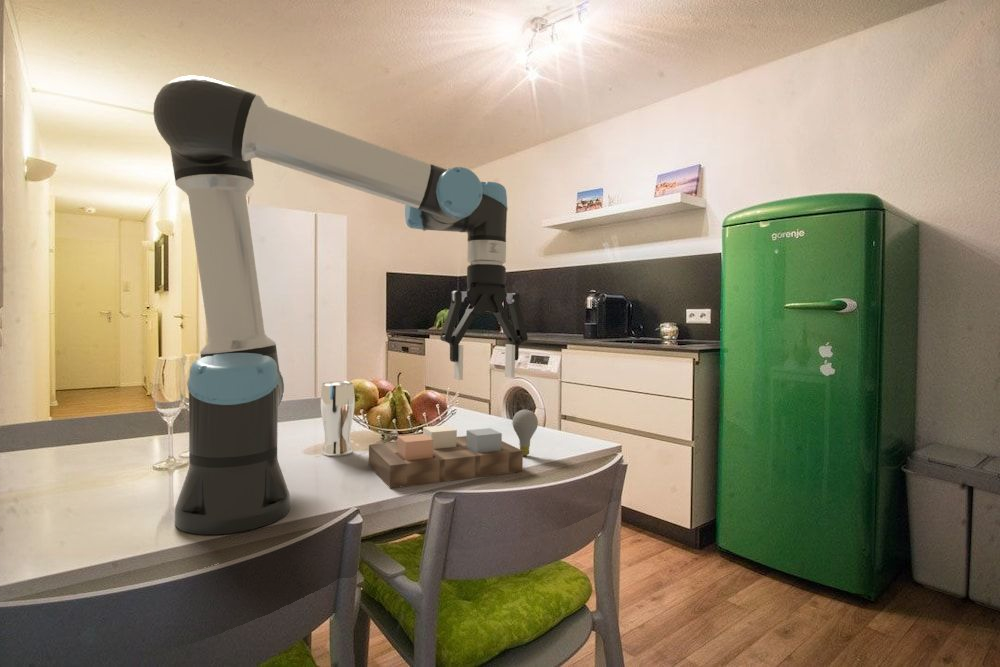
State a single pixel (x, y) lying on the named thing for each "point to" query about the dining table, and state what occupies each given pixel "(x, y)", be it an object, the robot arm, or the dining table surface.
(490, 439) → the key slate
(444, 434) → the key ivory
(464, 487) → the dining table surface
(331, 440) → the beer glass
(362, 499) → the dining table surface
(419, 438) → the key terracotta
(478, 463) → the brown wooden base
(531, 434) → the light bulb
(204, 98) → the robot arm
